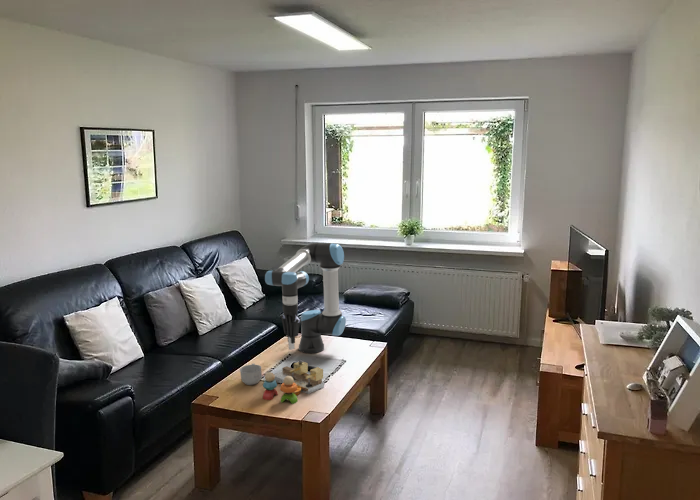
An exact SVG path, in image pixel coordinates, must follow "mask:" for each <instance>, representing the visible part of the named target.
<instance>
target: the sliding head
mask: <svg viewBox="0 0 700 500" xmlns="http://www.w3.org/2000/svg"><path fill="white" fill-rule="evenodd" d="M308 370H309V365H308V362H305V361H303V359H298V361H297V362H294V363H293V370H291V371H289V373H292V378H293V379H294V373H297V374H299V375H302V374H304V373H307V374H308V373H309V371H308Z"/></svg>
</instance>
